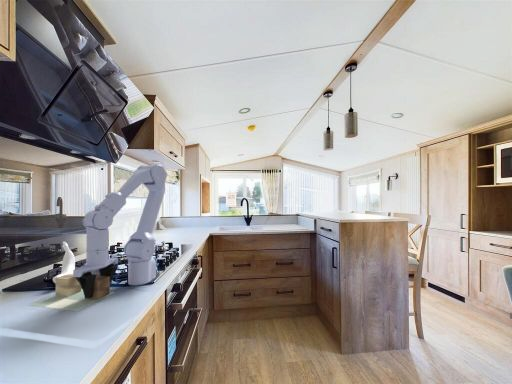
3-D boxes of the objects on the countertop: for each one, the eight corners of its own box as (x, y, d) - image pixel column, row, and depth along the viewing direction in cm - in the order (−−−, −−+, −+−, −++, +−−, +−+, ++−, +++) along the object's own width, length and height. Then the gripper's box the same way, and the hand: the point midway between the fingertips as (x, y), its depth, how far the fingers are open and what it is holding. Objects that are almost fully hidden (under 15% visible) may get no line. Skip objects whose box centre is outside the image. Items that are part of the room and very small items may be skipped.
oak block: (69, 290, 82) (69, 273, 82) (81, 291, 81) (81, 274, 81) (55, 295, 77) (55, 278, 77) (67, 296, 76) (67, 279, 76)
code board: (72, 291, 83) (72, 288, 83) (115, 295, 80) (115, 291, 80) (27, 309, 70) (28, 305, 70) (76, 314, 67) (76, 311, 67)
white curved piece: (52, 294, 81) (52, 249, 81) (61, 278, 97) (61, 240, 97) (70, 291, 83) (70, 247, 84) (76, 275, 100) (76, 239, 100)
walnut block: (97, 292, 79) (97, 275, 79) (109, 293, 78) (109, 276, 78) (84, 298, 75) (84, 280, 75) (97, 299, 74) (97, 281, 74)
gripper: (105, 244, 85) (105, 284, 84) (64, 253, 70) (64, 301, 70) (123, 244, 83) (123, 285, 83) (84, 255, 69) (84, 304, 69)
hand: (97, 293), depth 76 cm, fingers open, 6 cm apart
